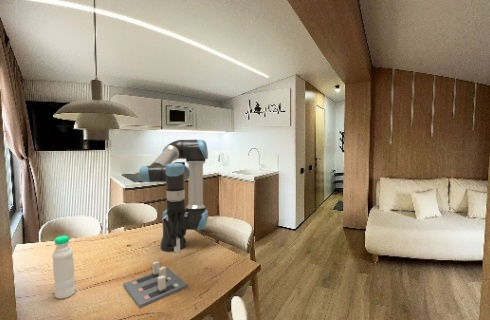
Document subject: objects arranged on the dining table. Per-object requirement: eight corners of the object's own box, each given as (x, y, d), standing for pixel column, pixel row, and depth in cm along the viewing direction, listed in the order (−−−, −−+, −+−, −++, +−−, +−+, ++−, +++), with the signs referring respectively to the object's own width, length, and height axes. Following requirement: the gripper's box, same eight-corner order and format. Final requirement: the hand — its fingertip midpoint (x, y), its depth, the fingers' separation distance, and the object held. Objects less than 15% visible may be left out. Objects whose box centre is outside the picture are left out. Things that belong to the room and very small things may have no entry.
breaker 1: (152, 274, 122) (151, 262, 121) (158, 272, 124) (157, 260, 123) (154, 276, 120) (153, 264, 119) (160, 274, 122) (160, 262, 121)
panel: (123, 286, 115) (123, 283, 115) (167, 269, 129) (167, 267, 129) (139, 308, 100) (139, 305, 100) (187, 287, 114) (187, 284, 114)
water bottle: (72, 287, 114) (68, 232, 112) (78, 293, 110) (74, 236, 107) (53, 295, 109) (48, 237, 106) (58, 301, 104) (54, 242, 102)
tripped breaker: (157, 290, 109) (156, 277, 109) (164, 287, 111) (163, 274, 111) (159, 293, 107) (159, 279, 107) (166, 290, 109) (166, 277, 109)
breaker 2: (158, 280, 117) (157, 268, 116) (164, 278, 119) (164, 265, 118) (160, 282, 115) (160, 270, 114) (167, 280, 117) (166, 267, 116)
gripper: (165, 203, 104) (166, 260, 106) (193, 198, 112) (194, 250, 114) (157, 200, 109) (159, 254, 111) (185, 195, 118) (186, 245, 120)
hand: (177, 252), depth 113 cm, fingers closed
